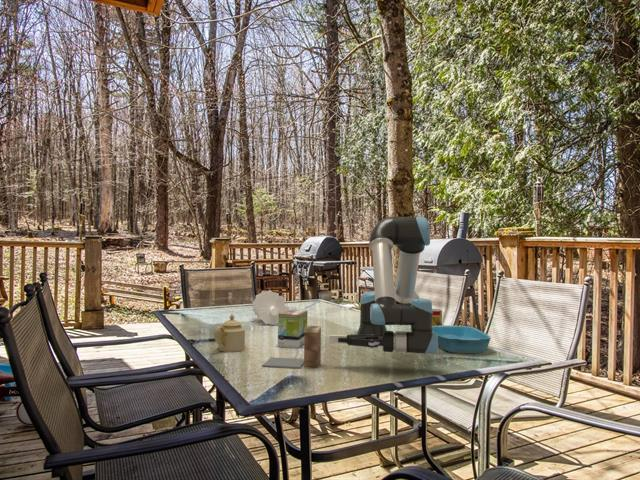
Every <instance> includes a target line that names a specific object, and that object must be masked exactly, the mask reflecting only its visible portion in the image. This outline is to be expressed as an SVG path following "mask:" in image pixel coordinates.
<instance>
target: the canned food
mask: <svg viewBox="0 0 640 480" xmlns="http://www.w3.org/2000/svg"><path fill="white" fill-rule="evenodd" d="M432 312H433V313H432V326H440V325H443V310H442V309H441V308H432Z"/></svg>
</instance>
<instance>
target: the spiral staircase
mask: <svg viewBox="0 0 640 480" xmlns="http://www.w3.org/2000/svg"><path fill="white" fill-rule="evenodd" d="M252 304H253V308H252V311H253V312H254V315H255V316H256V319H258V320H259V321H260V320H261V321H262V322H263V323H264V324H265V325H272V326H276V325H278V323H279V313H281V312H283V311H286V310H290V307H289V306H288V305H287V306H286V305H285V304H286V302H285V299H284V297H283V296H282V295H279V294H278V293H277V292H275V291H274V292H273V291H272V290H270V289H269V290H268V291H267V290H261V292H260V293H258V294H256V295H255V298H254V299H253V301H252Z"/></svg>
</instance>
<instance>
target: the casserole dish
mask: <svg viewBox="0 0 640 480" xmlns="http://www.w3.org/2000/svg"><path fill="white" fill-rule="evenodd" d="M432 332H434V333H437V334H438V347H440V348H441V349H443V350H444V351H445V352H447V351H448V353H451V352H452V353H453V354H482V353H484V352H485V351H487V349H488V347H489V344H490V341H491V339H492V337H491V336H490V335H489V334H487V333H485V332H483V331H481V330H479V329H478V328H476V327H472V326H467V325H466V326H465V325H455V324H454V325H451V324H449V325H447V324H445V325H443V324H442V325H440V326H432ZM481 352H482V353H481ZM452 353H451V354H452Z"/></svg>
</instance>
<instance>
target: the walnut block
mask: <svg viewBox="0 0 640 480" xmlns="http://www.w3.org/2000/svg"><path fill="white" fill-rule="evenodd" d="M321 340H322V326H321V325H307V327H306V328H305V329H304V344H303V345H304V346H303V349H304V350H303V351H304V352H303V359H304V364H303V367H304V368H309V369H310V368H311V369H318V368H319V366H320V365H321V364H322V363H321V362H322V361H321V357H322V355H321V354H322V353H321V352H322V351H321V349H322V347H321V345H322V341H321Z"/></svg>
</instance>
